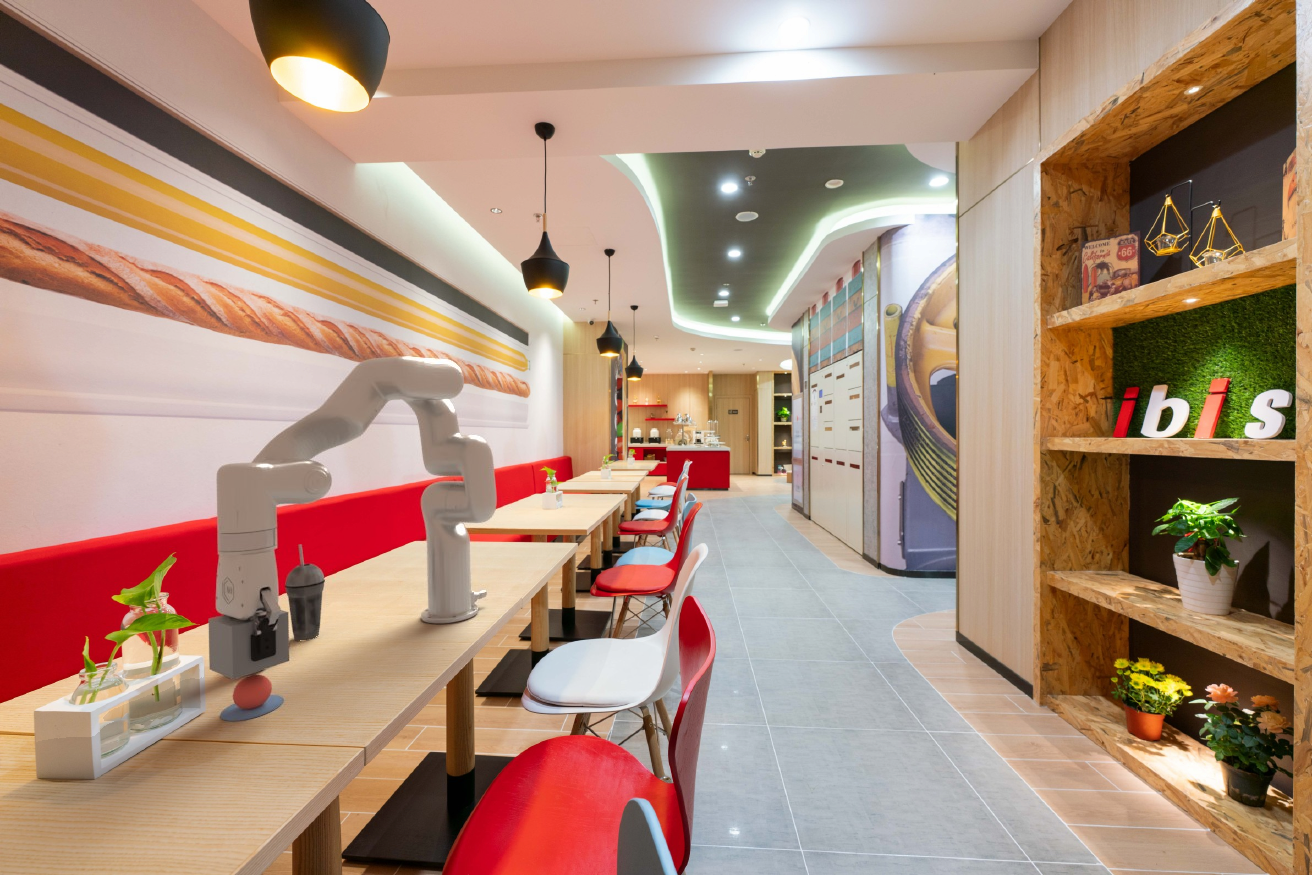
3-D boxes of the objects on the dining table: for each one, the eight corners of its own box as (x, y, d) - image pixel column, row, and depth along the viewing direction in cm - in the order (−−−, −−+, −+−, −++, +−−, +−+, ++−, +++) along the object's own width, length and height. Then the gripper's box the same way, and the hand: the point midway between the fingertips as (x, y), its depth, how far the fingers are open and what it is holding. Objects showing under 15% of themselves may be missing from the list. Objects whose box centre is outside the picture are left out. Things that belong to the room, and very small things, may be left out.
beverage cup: (334, 631, 121) (331, 540, 121) (310, 644, 114) (307, 547, 114) (303, 630, 122) (300, 540, 122) (277, 643, 115) (275, 547, 115)
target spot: (268, 691, 93) (268, 690, 93) (293, 702, 89) (293, 701, 89) (210, 713, 86) (210, 711, 86) (235, 726, 82) (235, 724, 82)
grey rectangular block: (265, 652, 92) (264, 605, 92) (289, 660, 88) (288, 612, 88) (209, 669, 86) (208, 618, 86) (233, 679, 82) (232, 626, 82)
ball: (218, 695, 86) (243, 710, 89) (234, 704, 83) (259, 718, 86) (246, 665, 89) (269, 680, 92) (261, 672, 86) (285, 687, 89)
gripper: (194, 541, 88) (196, 651, 88) (247, 550, 79) (250, 673, 79) (248, 533, 95) (250, 636, 95) (303, 541, 86) (305, 655, 86)
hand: (250, 652), depth 87 cm, fingers closed on grey rectangular block, 7 cm apart
